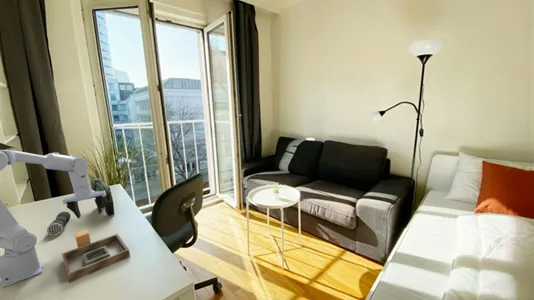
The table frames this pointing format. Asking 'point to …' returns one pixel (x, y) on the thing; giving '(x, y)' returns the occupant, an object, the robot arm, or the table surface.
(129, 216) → the table surface
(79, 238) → the block
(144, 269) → the table surface
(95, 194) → the robot arm
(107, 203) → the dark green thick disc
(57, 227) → the flashlight
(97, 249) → the walled box
